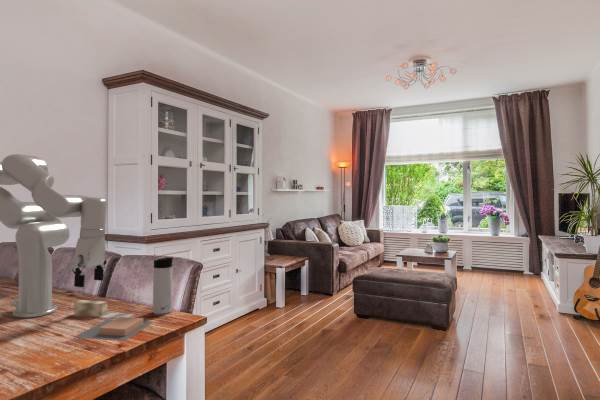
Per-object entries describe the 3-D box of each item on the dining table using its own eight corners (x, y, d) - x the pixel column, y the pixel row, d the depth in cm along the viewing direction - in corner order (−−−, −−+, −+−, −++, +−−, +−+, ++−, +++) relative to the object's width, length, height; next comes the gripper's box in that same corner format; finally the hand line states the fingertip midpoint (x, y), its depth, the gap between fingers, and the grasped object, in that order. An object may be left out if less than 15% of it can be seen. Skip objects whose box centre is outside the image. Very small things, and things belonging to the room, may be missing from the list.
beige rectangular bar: (72, 318, 127) (72, 303, 127) (82, 313, 132) (82, 299, 132) (124, 321, 125) (125, 306, 124) (133, 316, 130) (133, 301, 129)
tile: (99, 327, 110) (125, 329, 109) (119, 316, 120) (143, 318, 119) (99, 334, 110) (125, 336, 110) (119, 323, 120) (143, 324, 119)
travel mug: (166, 317, 129) (167, 259, 128) (149, 316, 130) (149, 258, 130) (176, 312, 135) (176, 256, 135) (159, 310, 136) (160, 255, 136)
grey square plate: (73, 339, 108) (73, 337, 108) (108, 321, 124) (108, 319, 124) (125, 342, 106) (125, 340, 106) (153, 323, 122) (153, 321, 122)
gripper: (98, 230, 138) (95, 276, 138) (63, 235, 120) (60, 288, 121) (117, 232, 137) (114, 279, 137) (85, 237, 120) (81, 290, 120)
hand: (89, 283), depth 129 cm, fingers open, 9 cm apart
